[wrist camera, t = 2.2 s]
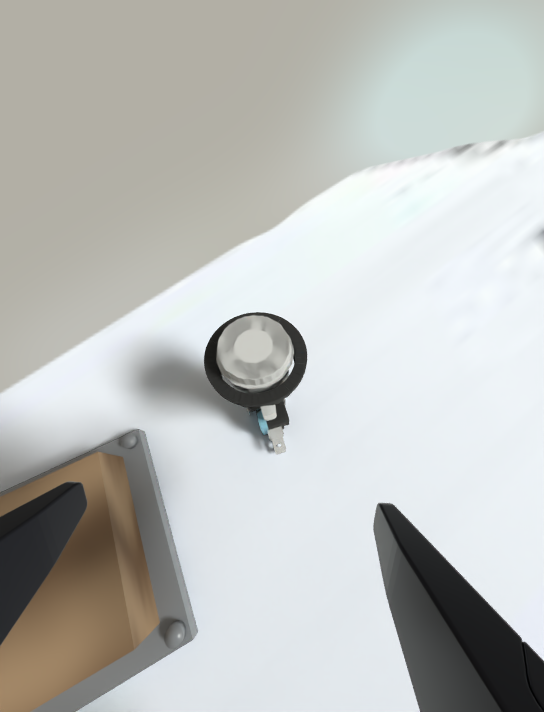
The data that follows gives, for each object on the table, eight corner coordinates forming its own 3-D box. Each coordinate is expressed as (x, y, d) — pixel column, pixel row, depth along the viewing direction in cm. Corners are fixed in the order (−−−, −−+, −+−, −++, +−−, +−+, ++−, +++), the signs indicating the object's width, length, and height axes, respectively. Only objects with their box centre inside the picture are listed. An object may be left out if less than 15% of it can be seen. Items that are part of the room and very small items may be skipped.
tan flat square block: (159, 622, 16) (134, 649, 13) (-28, 733, 14) (-102, 789, 11) (123, 456, 20) (97, 451, 17) (-26, 527, 18) (-79, 533, 16)
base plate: (197, 631, 16) (189, 645, 15) (-40, 775, 14) (-77, 808, 13) (144, 431, 22) (134, 427, 20) (-34, 514, 19) (-59, 515, 18)
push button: (313, 443, 21) (336, 407, 12) (245, 465, 20) (215, 444, 11) (287, 367, 24) (289, 290, 15) (226, 384, 23) (191, 316, 14)
